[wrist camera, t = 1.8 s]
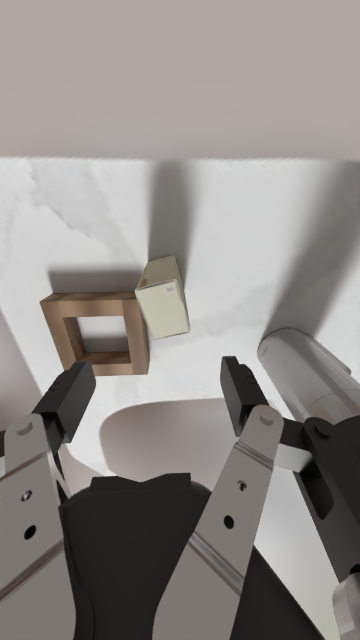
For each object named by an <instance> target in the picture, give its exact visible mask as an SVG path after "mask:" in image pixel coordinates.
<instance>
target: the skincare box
mask: <svg viewBox="0 0 360 640" xmlns="http://www.w3.org/2000/svg"><path fill="white" fill-rule="evenodd" d="M135 294H136V298H137V301H138V303H139V306H140V309H141V311H142V314H143V316H144V319H145V321H146V324H147V326H148V329H149V331H150V333H151V335H152V338H153V340H157V339H161V338H166V337H171V336H176V335H181V334H185V333H189V332H190V331H191V330H190V323H189V317H188V311H187V305H186V299H185V293H184V288H183V284H182V280H181V276H180V272H179V268H178V265H177V261H176V258H175V255H171V256H166V257H162V258H159V259H155V260H152V261H149V262H148V263H147V265H146V267H145V269H144V271H143V273H142V276H141V278H140V280H139V282H138V284H137V287H136V289H135Z"/></svg>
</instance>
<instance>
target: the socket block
mask: <svg viewBox="0 0 360 640" xmlns="http://www.w3.org/2000/svg"><path fill="white" fill-rule="evenodd" d="M40 305H41V308H42V310H43V313H44V316H45V319H46V321H47V324H48V327H49V330H50V333H51V335H52V338H53V341H54V344H55V346H56V349H57V352H58V355H59V357H60V360H61V363H62V366H63V368H64V371H65V370H69V369H70V368H71V366H72V365H73V363H74V362H75V361H87V360H89V361H90V362H91V365H92V368H93V372H94V375H95V376H116V375H147V374H148V369H149V363H150V360H149V351H148V341H147V332H146V323H145V319H144V316H143V314H142V311H141V309H140V306H139V303H138V301H137V298H136V294H135V292H98V293H56V294H51V295H50V296H48V297H46V298H45V299H43V300H42V301H40ZM93 316H124V321H125V327H126V333H127V340H128V346H129V351H128V352H94V353H86V352H85V348H84V345H83V341H82V338H81V334H80V331H79V327H78V324H77V320H76V317H93Z"/></svg>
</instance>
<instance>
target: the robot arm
mask: <svg viewBox="0 0 360 640" xmlns="http://www.w3.org/2000/svg"><path fill="white" fill-rule="evenodd" d="M258 359H259V361H260V362H261V364H262V366H263V367H264V369H265V371H266V372H267V374H268V376H269V378H270V379H271V381H272V382H273V384H274V386H275V387H276V389H277V391H278V392H279V394H280V396H281V397H282V399H283V401H284V402H285V404H286V406H287V407H288V409H289V411H290V412H291V414H292V416H293V417H294V419H295V421H294V420H289V419H286V418H284V417H282V416H281V414H280V413H279V412H278V411H277V410H275V409H274V408H272V407H270V406H269V404H268V402H267V400H266V398H265V396H264V394H263V392H262V390H261V388H260V386H259V384H258V383H257V380H256V379H255V377H254V375H253V373H252V371H251V369H249V368H248V367H247V366H246V365H245V364H239V363H238V360H237V358H236V357H235V356H223V357H222V363H221V373H220V382H221V387H222V390H223V394H224V397H225V401H226V404H227V408H228V411H229V414H230V418H231V421H232V424H233V428H234V431H235V435H236V437H240V438H239V440H238V442H237V443H235V444H234V446H233V448H232V450H231V452H230V455H229V457H228V459H227V461H226V463H225V466H224V468H223V470H222V472H221V474H220V476H219V479H218V481H217V483H216V485H215V488H214V489H213V492H211V491H210V490H209V489H208V488H206V487H205V486H203V485H201V484H199V483H197V482H194V481H191V476H190V473H171V474H164V475H161V476H159V477H156V478H153V479H150V480H147V481H144V482H137V481H133V480H129V479H126V478H122V477H119V476H106V477H93V478H92V481H91V484H90V486H89V487H87V488H85V489H82V490H81V491H79V492H77V493H76V494H74V495H73V496H72V495H71V492H70V490H69V487H68V484H67V480H66V476H65V472H64V468H63V464H62V460H61V457H60V453H59V451H58V450H59V448H60V446H61V444H64V443H71V441H72V439H73V437H74V434H75V432H76V430H77V428H78V426H79V423H80V421H81V419H82V417H83V415H84V412H85V410H86V408H87V406H88V404H89V401H90V399H91V397H92V395H93V393H94V390H95V387H96V379H95V375H94V372H93V368H92V365H91V362H90V361H89V360H87V361H75V362H74V363H73V365H72V366H71V368H70V369H69V370H65V371H64V372H63V373H61V374H60V375H59V376H58V377H57V378H56V380H55V381H54V382H53V385H51V386H50V388H49V389H48V391H47V392H46V393H45V395H44V396H43V397H42V399H41V400H40V402H39V403H38V405H37V406H36V407H35V409H34V410H33V411H32V413H31V414H28V415H25V416H23V417H21V418H19V419H18V420H16V421H15V422H13V423H12V424H11V425H10V426H9V428H8V429H7V430H5V431H2V432H0V640H325V638H324V637H323V636H322V634H321V633H320V632H319V630H318V629H317V628H316V626H315V625H314V624H313V622H312V621H311V620H310V619H309V617H308V616H307V614H306V613H305V612H304V610H303V609H302V608H301V607H300V605H299V604H298V603H297V601H296V600H295V599H294V597H293V596H292V595H291V593H290V592H289V591H288V589H287V588H286V587H285V585H284V584H283V583H282V581H281V580H280V579H279V578H278V576H277V575H276V574H275V572H274V571H273V570H272V568H271V567H270V566H269V564H268V563H267V562H266V560H265V559H264V558H263V556H262V555H261V554H260V552H259V551H258V550H257V549H256V547H255V546H254V545H253V544H254V540H255V536H256V532H257V529H258V525H259V521H260V517H261V513H262V509H263V505H264V502H265V498H266V494H267V490H268V487H269V483H270V479H271V475H272V471H273V467H274V465H277V466H279V467H283V468H286V469H289V470H292V471H293V474H294V476H295V478H296V481H297V483H298V486H299V488H300V490H301V492H302V495H303V498H304V500H305V502H306V505H307V507H308V510H309V512H310V514H311V516H312V519H313V521H314V524H315V526H316V529H317V531H318V533H319V536H320V538H321V540H322V543H323V545H324V548H325V550H326V552H327V555H328V557H329V559H330V562H331V564H332V567H333V569H334V572H335V574H336V576H337V579H338V581H339V583H340V584H339V585H338V586H336V588H335V590H334V592H333V598H332V601H333V610H334V614H335V618H336V621H337V625H338V629H339V633H340V640H360V384H359V383H358V382H357V381H356V380H355V379H354V378H353V377H351V376H350V375H351V370H350V369H349V368H348V367H347V366H346V365H345V364H344V363H342V362H341V361H340V360H339V359H338V358H336V357H335V356H334V355H333V354H332V353H331V352H329V351H328V350H327V349H326V348H325V347H324V346H322V345H321V344H320V343H319V342H318V341H317V340H315V339H314V338H313V337H312V336H311V335H305V334H303V333H302V332H300V331H298V330H296V329H291V328H290V329H281V330H278V331H275V332H273V333H271V334H270V335H268V336H267V337H266V338H265V339H264V340H263V341H262V342H261V344H260V346H259V349H258Z"/></svg>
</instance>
